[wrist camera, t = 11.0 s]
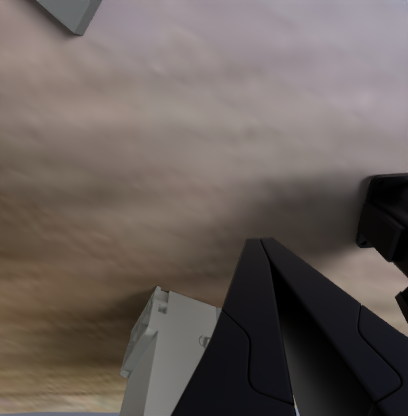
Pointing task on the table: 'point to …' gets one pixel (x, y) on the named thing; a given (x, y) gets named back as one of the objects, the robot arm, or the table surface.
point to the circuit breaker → (165, 352)
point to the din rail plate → (72, 12)
